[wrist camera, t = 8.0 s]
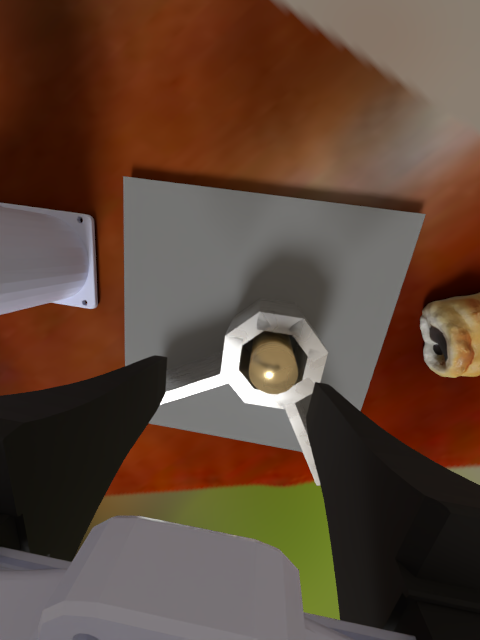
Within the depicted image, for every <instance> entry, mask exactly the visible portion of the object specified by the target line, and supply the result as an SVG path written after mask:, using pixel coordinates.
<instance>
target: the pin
mask: <svg viewBox="0 0 480 640" xmlns="http://www.w3.org/2000/svg"><path fill="white" fill-rule="evenodd" d="M249 377H250V380H251V382H252V384H253V385H254V386H255V387H256V388H257V389H258V390H260V391H262V392H264V393H268V394H280V393H283V392H286V391H287V390H289V389H290V388H291V387H292V386H293V385H294V384H295V382H296V380H297V377H298V368H297V364H296V360H295V357H294V353H293V349H292V345H291V341H290V338H289V334H282V333H276V332H270V331H263V332H261V333H260V334H258V335H257V336H255V337H254V338H253V344H252V351H251V358H250V365H249Z"/></svg>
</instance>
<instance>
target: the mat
mask: <svg viewBox="0 0 480 640" xmlns="http://www.w3.org/2000/svg"><path fill="white" fill-rule="evenodd" d="M123 183H124V294H125V366H127V365H130V364H132V363H135V362H137V361H140V360H142V359H145V358H148V357H151V356H154V355H157V356H163V357H167V371H168V370H171V369H173V368H176V367H179V366H182V365H185V364H188V363H191V362H194V361H196V360H199V359H202V358H205V357H208V356H211V355H214V354H217V353H220V352H222V351H223V349H224V341H225V334H226V332H227V330H228V328H229V326H230V324H231V322H232V319H233V317H235V316H236V315H238V314H239V313H241V312H242V311H243V310H245V309H246V308H248V307H249V306H250V305H252V304H253V303H255V302H256V301H257V300H259V299H260V298H264V299H270V300H277V301H283V302H290V303H296V305H297V306H298V308H299V309H300V311H301V312H302V313H303V315H304V316H305V318H306V319H307V320H308V322H309V323H310V325H311V326H312V327H313V329H314V330H315V331H316V333H317V334H318V336H319V338H320V339H321V341H322V342H323V344H324V346H325V347H326V349H327V351H328V355H327V359H326V363H325V366H324V370H323V374H322V378H321V382H320V383H324V384H329V385H330V386H331V387H333V388H334V389H335V390H336V391H337V392H339V393H340V394H341V395H342V396H343V397H344V398H345V399H347V400H348V401H349V402H350V403H351V404H352V405H353V406H355V407H356V408H357V409H358V410H359V411H361V408H362V405H363V402H364V399H365V396H366V393H367V390H368V387H369V384H370V381H371V378H372V375H373V372H374V369H375V366H376V363H377V360H378V357H379V354H380V351H381V348H382V345H383V342H384V339H385V336H386V333H387V330H388V327H389V323H390V320H391V317H392V314H393V311H394V308H395V305H396V302H397V299H398V296H399V293H400V290H401V287H402V284H403V281H404V278H405V275H406V272H407V269H408V266H409V263H410V260H411V257H412V254H413V251H414V248H415V245H416V242H417V239H418V236H419V233H420V230H421V227H422V224H423V221H424V218H425V215H426V214H420V213H412V212H404V211H396V210H388V209H380V208H372V207H364V206H356V205H348V204H340V203H332V202H324V201H316V200H308V199H300V198H292V197H284V196H276V195H268V194H260V193H252V192H244V191H236V190H228V189H220V188H212V187H204V186H196V185H188V184H180V183H172V182H164V181H156V180H148V179H140V178H132V177H124V176H123ZM289 338H290V341H291V345H292V349H293V353H295V349H296V344H297V341H296V339H295V338H294V337H293V335H289ZM252 344H253V338H252V339H251V340H250V341H248V342H247V343H245V344H244V346H245V347H246V348H247V350H248V351H249V352H250V353H251V351H252ZM311 396H312V394H310V395H308V396H307V397H305V398H303V399H301V400H300V402H301V404H302V407H303V409H304V412H305V415H306V416H307V412H308V408H309V404H310V400H311ZM149 423H150V424H156V425H161V426H166V427H172V428H177V429H182V430H188V431H193V432H199V433H204V434H209V435H215V436H220V437H225V438H231V439H236V440H242V441H247V442H252V443H258V444H263V445H268V446H274V447H279V448H285V449H290V450H295V451H301V452H303V451H302V449H301V446H300V444H299V442H298V439H297V437H296V434H295V432H294V430H293V427H292V425H291V422H290V420H289V417H288V415H287V413H286V410H285V409H280V408H274V407H268V406H263V405H257V404H251V403H245V402H244V401H243V400H242V398H241V397H240V396H239V395H238V394H237V392H236V391H235V390H234V389H233V388H232V386H231V385H230V384H229V383H227V384H223V385H220V386H217V387H214V388H211V389H208V390H204V391H201V392H198V393H195V394H192V395H189V396H185V397H182V398H179V399H176V400H173V401H170V402H167V403H163V404H160V405H159V407H158V409H157V411H156V413H155V414H154V416H153V417H152V419H151V420H150V422H149Z"/></svg>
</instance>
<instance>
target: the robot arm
mask: <svg viewBox="0 0 480 640" xmlns="http://www.w3.org/2000/svg"><path fill="white" fill-rule="evenodd" d="M81 217H82V219H83V222H82V223H81V221H80V219H81ZM85 300H86V301H87V304H86V303H85ZM50 302H51V303H58V304H64V305H70V306H76V307H83V308H89V309H93V308H96V307H97V305H98V297H97V273H96V250H95V226H94V219H93V217H92V216H90V215H87V214H80V213H73V212H66V211H58V210H51V209H44V208H36V207H29V206H22V205H14V204H7V203H0V315H1V314H5V313H9V312H14V311H18V310H22V309H26V308H30V307H34V306H38V305H42V304H46V303H50ZM166 372H167V357H163V356H157V355H154V356H151V357H148V358H145V359H142V360H140V361H137V362H135V363H132V364H130V365H127V366H125V367H122V368H120V369H117V370H114V371H111V372H109V373H106V374H103V375H100V376H97V377H94V378H91V379H87V380H84V381H80V382H76V383H72V384H68V385H64V386H59V387H54V388H49V389H44V390H39V391H33V392H26V393H19V394H12V395H4V396H0V640H480V485H478V484H476V483H474V482H472V481H470V480H468V479H466V478H464V477H462V476H460V475H458V474H456V473H454V472H452V471H450V470H448V469H447V468H445V467H443V466H441V465H439V464H437V463H436V462H434V461H432V460H430V459H429V458H427V457H425V456H423V455H422V454H420V453H418V452H417V451H415V450H413V449H412V448H410V447H409V446H407V445H405V444H404V443H402V442H401V441H399V440H398V439H396V438H395V437H393V436H392V435H391V434H389V433H388V432H386V431H385V430H383V429H382V428H381V427H379V426H378V425H377V424H375V423H374V422H373V421H372V420H370V419H369V418H368V417H367V416H365V415H364V414H363V413H362V412H360V411H359V410H358V409H357V408H356V407H355V406H353V405H352V404H351V403H350V402H349V401H348V400H347V399H345V398H344V397H343V396H342V395H341V394H340V393H339V392H337V391H336V390H335V389H334V388H333V387H331V386H330V385H329V384H324V383H318V382H315V385H314V388H313V392H312V396H311V400H310V404H309V408H308V412H307V416H306V424H307V432H308V439H309V443H310V447H311V451H312V454H313V458H314V462H315V466H316V469H317V473H318V477H319V481H320V484H321V488H322V493H323V497H324V503H325V509H326V515H327V521H328V527H329V534H330V541H331V547H332V555H333V562H334V571H335V578H336V586H337V594H338V604H339V612H340V620H337V619H332V618H328V617H323V616H318V615H314V614H309V613H304V612H303V605H302V596H301V586H300V578H299V570H298V569H297V568H296V567H295V566H294V565H293V563H291V561H290V560H289V559H288V558H287V557H286V556H285V555H284V554H283V553H282V552H281V551H280V550H279V549H278V548H275V547H273V546H270V545H268V544H265V543H263V542H261V541H258V540H255V539H250V538H246V537H241V536H236V535H231V534H226V533H221V532H217V531H212V530H207V529H201V528H197V527H192V526H187V525H182V524H177V523H172V522H167V521H162V520H157V519H153V518H147V517H143V516H115V517H112V518H110V519H108V520H106V521H104V522H102V523H100V524H99V525H97V526H95V527H93V529H92V530H91V532H90V534H89V535H88V537H87V538H86V540H85V542H84V543H83V545H82V547H81V548H80V550H79V552H78V553H77V555H76V556H75V554H76V551H77V549H78V547H79V545H80V543H81V541H82V539H83V537H84V535H85V533H86V531H87V529H88V527H89V525H90V523H91V521H92V519H93V517H94V515H95V513H96V511H97V509H98V506H99V505H100V503H101V501H102V499H103V497H104V495H105V493H106V492H107V490H108V488H109V486H110V484H111V482H112V480H113V478H114V477H115V475H116V473H117V471H118V469H119V468H120V466H121V464H122V462H123V460H124V459H125V457H126V456H127V454H128V452H129V451H130V449H131V448H132V446H133V445H134V444H135V442H136V441H137V439H138V438H139V436H140V435H141V433H142V432H143V430H144V429H145V428H146V426H147V425H148V423H149V422H150V420H151V419H152V417H153V416H154V414H155V413H156V411H157V409H158V407H159V405H160V404H161V402H162V399H163V397H164V395H165V392H166ZM74 556H75V558H74ZM73 558H74V560H73ZM72 560H73V561H72Z"/></svg>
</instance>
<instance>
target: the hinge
mask: <svg viewBox="0 0 480 640" xmlns="http://www.w3.org/2000/svg"><path fill="white" fill-rule="evenodd" d="M263 331H270V332H276V333H282V334H289V335H293V337H294V338H295V339H296V341H297V344H296V349H295V353H294V357H295V360H296V364H297V368H298V377H297V380H296V382H295V384H294V385H293V386H292V387H291V388H290V389H289V390H287V391H286V392H283V393H280V394H268V393H264V392H262V391H260V390H258V389H257V388H256V387H255V386H254V385H253V384H252V382H251V380H250V377H249V365H250V358H251V353H250V352H249V351H248V350H247V348H246V347H245V346H244V344H245V343H247V342H248V341H250V340H251V339H252V338H254V337H255V336H257V335H258V334H260V333H261V332H263ZM327 355H328V351H327V349H326V347H325V346H324V344H323V342H322V341H321V339H320V338H319V336H318V334H317V333H316V331H315V330H314V329H313V327H312V326H311V325H310V323H309V322H308V320H307V319H306V318H305V316H304V315H303V313H302V312H301V311H300V309H299V308H298V306H297V305H296V303H290V302H283V301H277V300H270V299H264V298H260V299H259V300H257V301H256V302H255V303H253V304H252V305H250V306H249V307H248V308H246V309H245V310H243V311H242V312H241V313H239V314H238V315H236V316H235V317H233V319H232V322H231V324H230V326H229V328H228V330H227V332H226V334H225V341H224V349H223V351H222V352H220V353H217V354H214V355H211V356H208V357H205V358H202V359H199V360H196V361H194V362H191V363H188V364H185V365H182V366H179V367H176V368H173V369H171V370H168V371H167V372H166V392H165V395H164V397H163V399H162V402H161V404H163V403H167V402H170V401H173V400H176V399H179V398H182V397H185V396H189V395H192V394H195V393H198V392H201V391H204V390H208V389H211V388H214V387H217V386H220V385H223V384H227V383H229V384H230V385H231V386H232V388H233V389H234V390H235V391H236V392H237V394H238V395H239V396H240V397H241V398H242V400H243V401H244V402H245V403H251V404H257V405H263V406H268V407H274V408H280V409H285V410H286V413H287V415H288V417H289V420H290V422H291V425H292V427H293V430H294V432H295V434H296V437H297V439H298V442H299V444H300V446H301V449H302V451H303V454H304V456H305V458H306V461H307V463H308V466H309V468H310V471H311V473H312V475H313V478H314V480H315V483H316V485H317V486H318V485H321V484H320V481H319V477H318V473H317V469H316V466H315V462H314V458H313V454H312V451H311V447H310V443H309V439H308V432H307V424H306V415H305V412H304V409H303V407H302V404H301V402H300V400H301V399H303V398H305V397H307V396H308V395H310V394H312V392H313V388H314V385H315V382H318V383H320V382H321V378H322V374H323V370H324V366H325V363H326V359H327Z"/></svg>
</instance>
